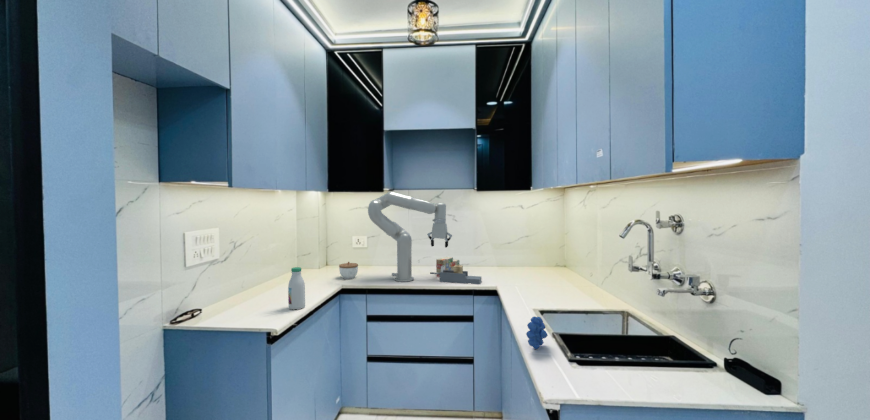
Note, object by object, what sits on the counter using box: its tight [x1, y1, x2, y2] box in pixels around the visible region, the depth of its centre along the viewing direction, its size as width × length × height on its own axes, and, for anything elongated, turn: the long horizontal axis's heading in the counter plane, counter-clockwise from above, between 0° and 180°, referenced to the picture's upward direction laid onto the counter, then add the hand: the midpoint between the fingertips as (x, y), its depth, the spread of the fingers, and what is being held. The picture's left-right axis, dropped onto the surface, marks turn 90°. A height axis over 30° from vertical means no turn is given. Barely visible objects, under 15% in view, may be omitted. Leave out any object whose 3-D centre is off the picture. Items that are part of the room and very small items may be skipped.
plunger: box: [429, 265, 445, 275], centre depth 234 cm, size 10×6×6 cm, turn 75°
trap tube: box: [439, 270, 482, 285], centre depth 230 cm, size 26×9×6 cm, turn 75°
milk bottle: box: [287, 266, 306, 310], centre depth 175 cm, size 8×8×20 cm
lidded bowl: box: [338, 261, 359, 280], centre depth 241 cm, size 13×13×11 cm
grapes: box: [525, 316, 548, 350], centre depth 126 cm, size 12×7×12 cm, turn 137°
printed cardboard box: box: [435, 256, 461, 278], centre depth 251 cm, size 21×6×12 cm, turn 145°
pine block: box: [454, 264, 464, 274], centre depth 230 cm, size 5×5×7 cm
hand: (439, 246), depth 237 cm, fingers open, 9 cm apart
